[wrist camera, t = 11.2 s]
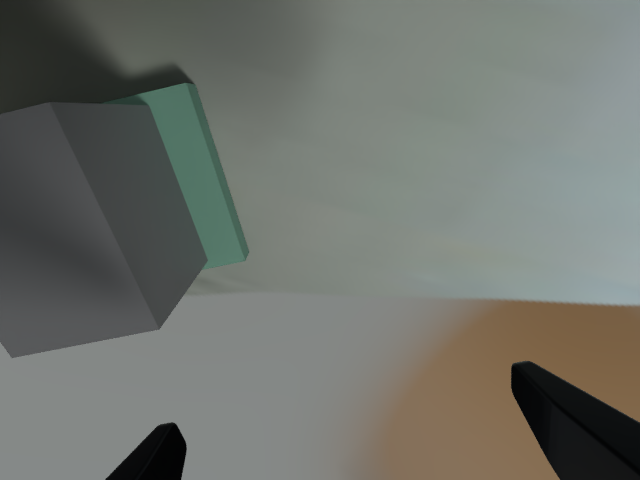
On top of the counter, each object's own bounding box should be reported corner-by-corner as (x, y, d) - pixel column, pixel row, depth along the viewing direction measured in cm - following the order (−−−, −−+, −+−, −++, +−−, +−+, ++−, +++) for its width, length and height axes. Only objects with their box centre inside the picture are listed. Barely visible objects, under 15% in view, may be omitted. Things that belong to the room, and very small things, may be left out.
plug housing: (149, 105, 15) (49, 102, 9) (207, 260, 18) (159, 329, 12) (27, 134, 15) (-140, 148, 10) (105, 281, 18) (11, 357, 12)
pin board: (195, 84, 16) (167, 78, 13) (249, 252, 19) (237, 278, 16) (4, 130, 16) (-66, 134, 13) (88, 284, 19) (47, 316, 16)
